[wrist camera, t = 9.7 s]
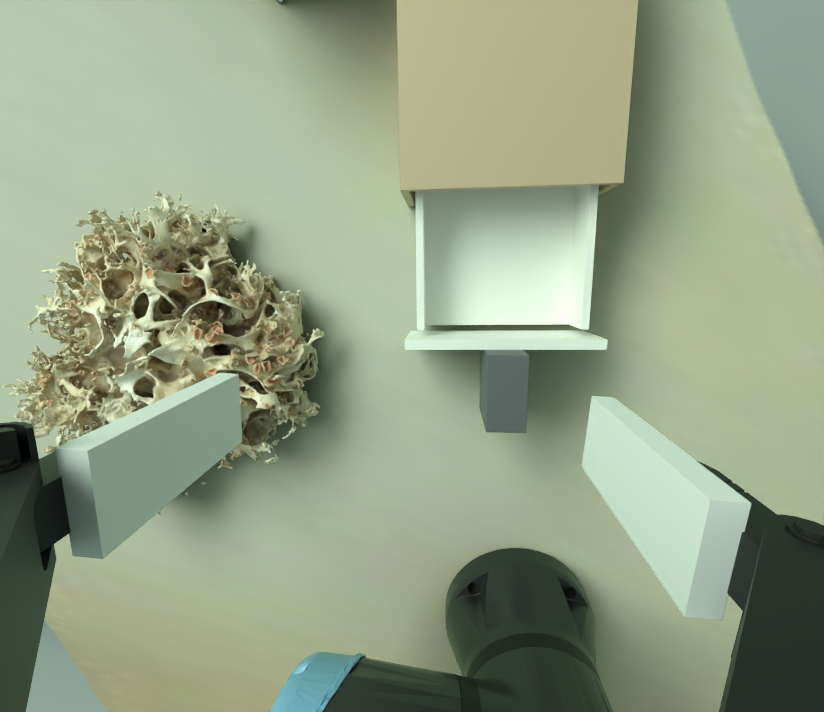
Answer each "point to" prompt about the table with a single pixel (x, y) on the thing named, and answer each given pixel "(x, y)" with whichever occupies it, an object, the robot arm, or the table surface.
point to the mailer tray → (505, 282)
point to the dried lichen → (167, 329)
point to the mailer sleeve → (513, 93)
